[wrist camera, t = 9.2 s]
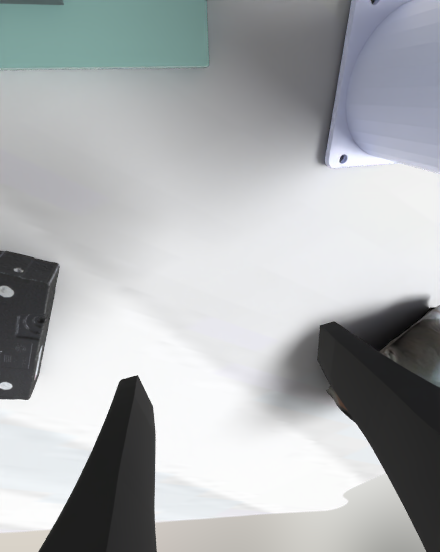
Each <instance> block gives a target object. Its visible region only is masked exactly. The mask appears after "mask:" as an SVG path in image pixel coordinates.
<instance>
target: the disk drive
mask: <svg viewBox="0 0 440 552" xmlns="http://www.w3.org/2000/svg"><path fill="white" fill-rule="evenodd" d="M58 273H59V264H57V263H53V262H48V261H43V260H40V259H35V258H34V257H30V256H26V255H22V254H17V253H13V252H8V251H5V252H4V251H0V399H23V400H28V399H30V397H31V394H32V392H33V390H34V387H35V384H36V381H37V379H38V376H39V372H40V366H41V360H42V357H43V351H44V346H45V341H46V336H47V331H48V325H49V320H50V315H51V310H52V305H53V300H54V294H55V287H56V282H57V277H58Z"/></svg>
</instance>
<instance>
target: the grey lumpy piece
mask: <svg viewBox="0 0 440 552" xmlns="http://www.w3.org/2000/svg"><path fill="white" fill-rule="evenodd" d="M379 352H380V353H382V354H384V355H385V356H387V357H388V358H390V359H391V360H393V361H395V362H396V363H398V364H399V365H401V366H403V367H404V368H406V369H408V370H409V371H411V372H413V373H415V374H416V375H418V376H420V377H421V378H423V379H425V380H427V381H429V382H430V383H432V384H434V385H436V386H438V387H440V305H439V306H438V307H436V308H429V311H428V312H427V313H426V314H425V315H424V316H423V317H422V318H421V319H420V320H419V321H417V322H416V323H415V324H413V325H412V326H411V327H410V328H408V329H407V330H406V331H404V332H403V333H402V334H401V335H399V336H398V337H397V338H395V339H393V340H392V341H390V342H389V343H388V345H387V346H385V347H384V348H383V349H381V350H380V351H379ZM326 391H327V393H328V394H329V395H330V396H331V397H332V398H333V399H334V401H335V402H336V404H337V406H338V407H339V408H340V410H341V411H342V412H344V414H345V415H347V416H348V417H349V418H350V419H351V420H353V421H354V419H353V418H352V416H351V415H350V413H349V412H348V410H347V409H346V407H345V406H344V404H343V403H342V401H341V400H340V398H339V397H338V395H337V394H336V392H335V391H334V389H333V388H332V386H330V387H329V388H328V389H327V390H326ZM354 422H355V421H354ZM355 423H356V422H355Z"/></svg>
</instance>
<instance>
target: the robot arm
mask: <svg viewBox="0 0 440 552" xmlns="http://www.w3.org/2000/svg"><path fill="white" fill-rule="evenodd" d="M342 155H344V158H343V160H342V161H341V162H339V159H340V157H341V156H342ZM394 163H401V164H405V165H409V166H412V167H416V168H420V169H424V170H427V171H431V172H435V173H438V174H440V0H375V2H374V4H372V3H371V0H352V1H351V7H350V13H349V19H348V25H347V31H346V36H345V42H344V48H343V54H342V60H341V66H340V72H339V78H338V84H337V90H336V96H335V102H334V108H333V114H332V120H331V126H330V132H329V138H328V144H327V150H326V156H325V164H326V165H327V166H328V167H330V168H343V167H356V166H368V165H381V164H394ZM317 360H318V362H319V364H320V366H321V368H322V370H323V372H324V374H325V376H326V378H327V379H328V381H329V383H330V385H331V386H332V388H333V389H334V391H335V392H336V394H337V395H338V397H339V398H340V400H341V401H342V403H343V404H344V406H345V407H346V409H347V410H348V412H349V413H350V415H351V416H352V418H353V419H354V421H355V422H356V424H357V425H358V427H359V428H360V430H361V431H362V433H363V434H364V436H365V437H366V439H367V440H368V442H369V444H370V445H371V447H372V448H373V450H374V452H375V454H376V456H377V457H378V459H379V461H380V463H381V465H382V466H383V468H384V470H385V472H386V474H387V475H388V477H389V479H390V481H391V483H392V485H393V487H394V488H395V490H396V492H397V494H398V496H399V498H400V500H401V502H402V503H403V505H404V507H405V509H406V511H407V513H408V515H409V517H410V519H411V521H412V523H413V525H414V527H415V529H416V531H417V533H418V535H419V537H420V539H421V541H422V543H423V545H424V547H425V550H426V552H440V387H438V386H436V385H434V384H432V383H430V382H429V381H427V380H425V379H423V378H421V377H420V376H418V375H416V374H415V373H413V372H411V371H409V370H408V369H406V368H404V367H403V366H401V365H399V364H398V363H396V362H395V361H393V360H391V359H390V358H388V357H387V356H385V355H384V354H382V353H380V352H379V351H377V350H376V349H374V348H373V347H371V346H370V345H368V344H367V343H365V342H364V341H362V340H361V339H359V338H358V337H356V336H355V335H354V334H352V333H351V332H349V331H348V330H346V329H345V328H343V327H342V326H340V325H339V324H337V323H336V322H331V323H327V324H324V325H320V333H319V345H318V358H317ZM154 496H155V423H154V413H153V406H152V404H151V402H150V400H149V398H148V396H147V393H146V391H145V389H144V387H143V385H142V383H141V381H140V379H139V377H138V375H137V376H133V377H130V378H126V379H122V380H121V381H120V382H119V384H118V387H117V390H116V393H115V396H114V398H113V401H112V404H111V406H110V409H109V412H108V414H107V417H106V419H105V422H104V424H103V426H102V429H101V431H100V434H99V436H98V438H97V441H96V443H95V445H94V448H93V450H92V452H91V454H90V456H89V458H88V460H87V463H86V465H85V467H84V469H83V471H82V473H81V475H80V477H79V479H78V481H77V483H76V485H75V487H74V489H73V491H72V493H71V495H70V497H69V499H68V501H67V503H66V504H65V506H64V508H63V510H62V512H61V514H60V515H59V517H58V519H57V521H56V523H55V524H54V526H53V528H52V530H51V531H50V533H49V535H48V536H47V538H46V540H45V542H44V543H43V545H42V547H41V548H40V550H39V552H157V551H156V536H155V514H154Z"/></svg>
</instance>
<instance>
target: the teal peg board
mask: <svg viewBox="0 0 440 552" xmlns="http://www.w3.org/2000/svg"><path fill="white" fill-rule="evenodd" d="M208 66H209V51H208V23H207V0H0V70H52V69H133V68H205V67H208Z"/></svg>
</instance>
